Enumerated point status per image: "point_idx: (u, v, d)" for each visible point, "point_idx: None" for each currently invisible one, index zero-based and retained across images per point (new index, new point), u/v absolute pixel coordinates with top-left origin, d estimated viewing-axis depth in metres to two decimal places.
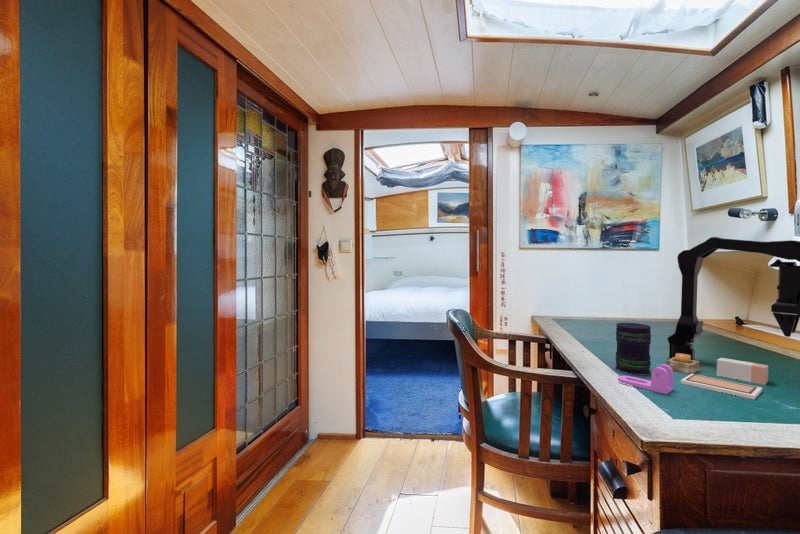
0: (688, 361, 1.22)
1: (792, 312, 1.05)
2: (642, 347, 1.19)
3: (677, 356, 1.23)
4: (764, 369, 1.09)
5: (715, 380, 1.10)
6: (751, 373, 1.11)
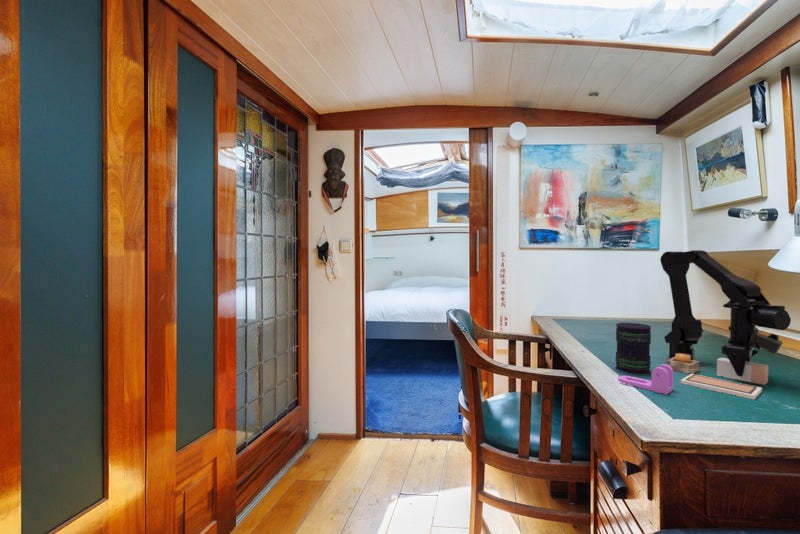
0: (688, 361, 1.22)
1: (740, 355, 1.08)
2: (642, 347, 1.19)
3: (677, 356, 1.23)
4: (764, 369, 1.09)
5: (715, 380, 1.10)
6: (751, 373, 1.11)
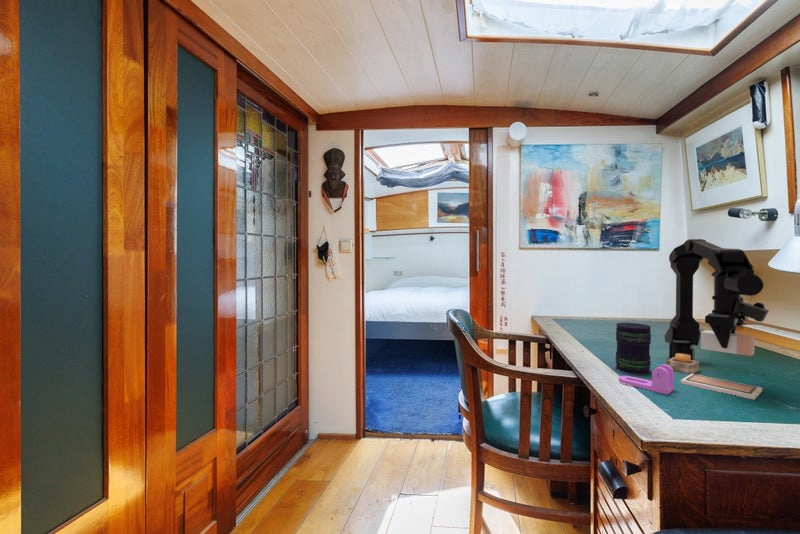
0: (688, 361, 1.22)
1: (724, 324, 1.01)
2: (642, 347, 1.19)
3: (677, 356, 1.23)
4: (750, 339, 1.02)
5: (715, 380, 1.10)
6: (736, 344, 1.04)
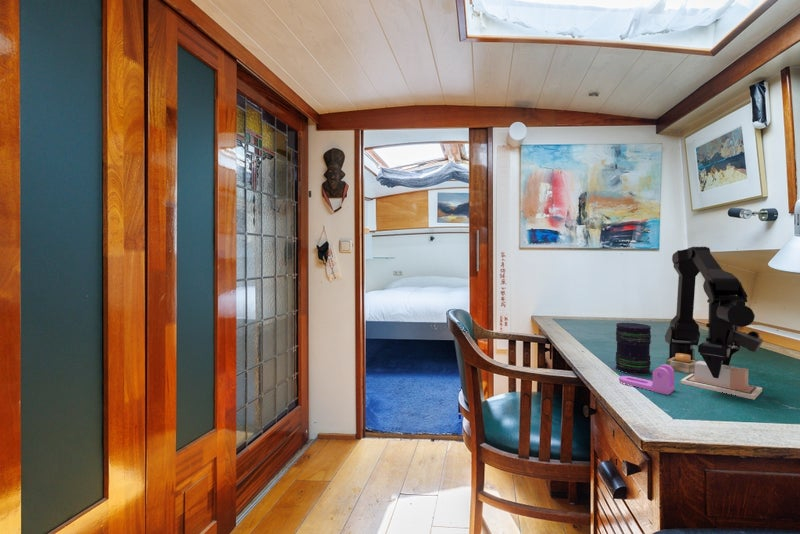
0: (688, 361, 1.22)
1: (717, 354, 1.00)
2: (642, 347, 1.19)
3: (677, 356, 1.23)
4: (743, 373, 1.01)
5: None
6: (730, 378, 1.04)
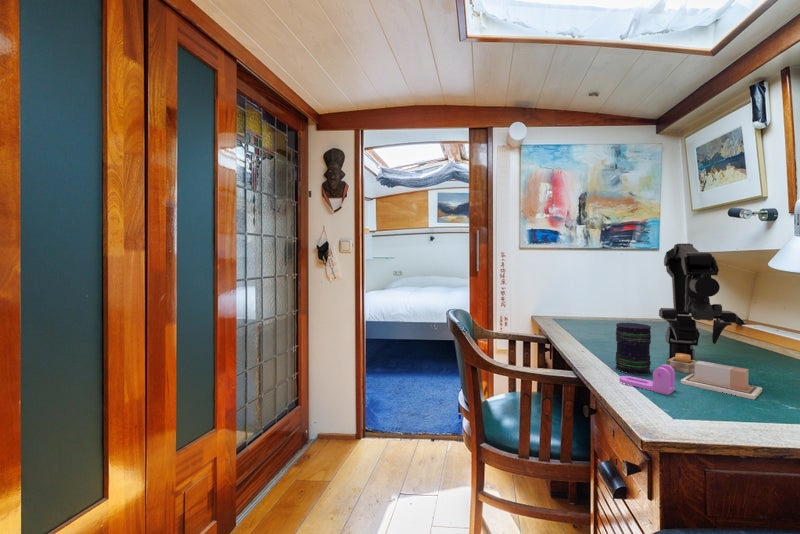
0: (688, 361, 1.22)
1: (661, 316, 1.20)
2: (642, 347, 1.19)
3: (677, 356, 1.23)
4: (743, 373, 1.01)
5: None
6: (730, 378, 1.04)
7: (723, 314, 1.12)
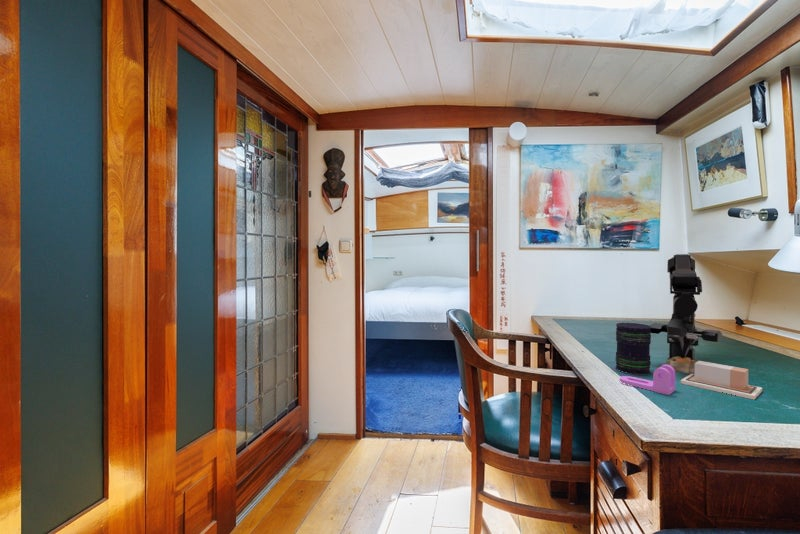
0: None
1: None
2: (642, 347, 1.19)
3: (677, 359, 1.23)
4: (743, 373, 1.01)
5: None
6: (730, 378, 1.04)
7: (703, 332, 1.17)
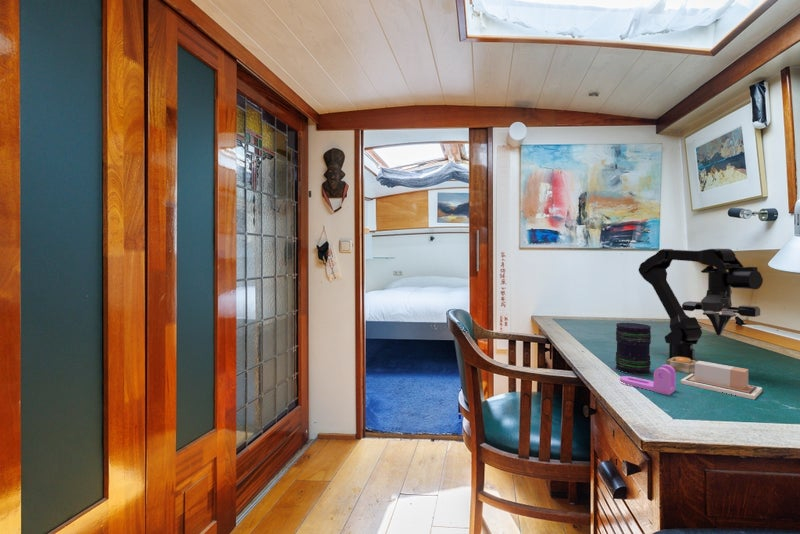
0: None
1: None
2: (642, 347, 1.19)
3: (677, 359, 1.23)
4: (743, 373, 1.01)
5: None
6: (730, 378, 1.04)
7: (740, 307, 1.15)
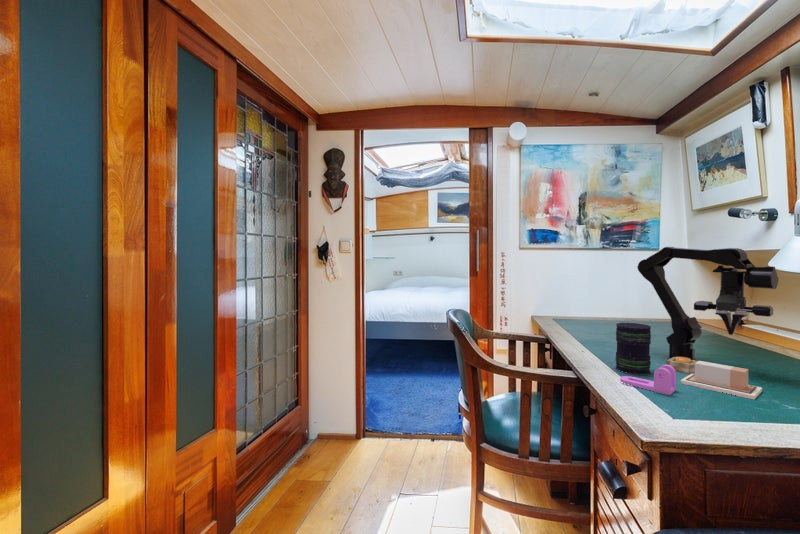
0: None
1: None
2: (642, 347, 1.19)
3: (677, 359, 1.23)
4: (743, 373, 1.01)
5: None
6: (730, 378, 1.04)
7: (754, 307, 1.15)
